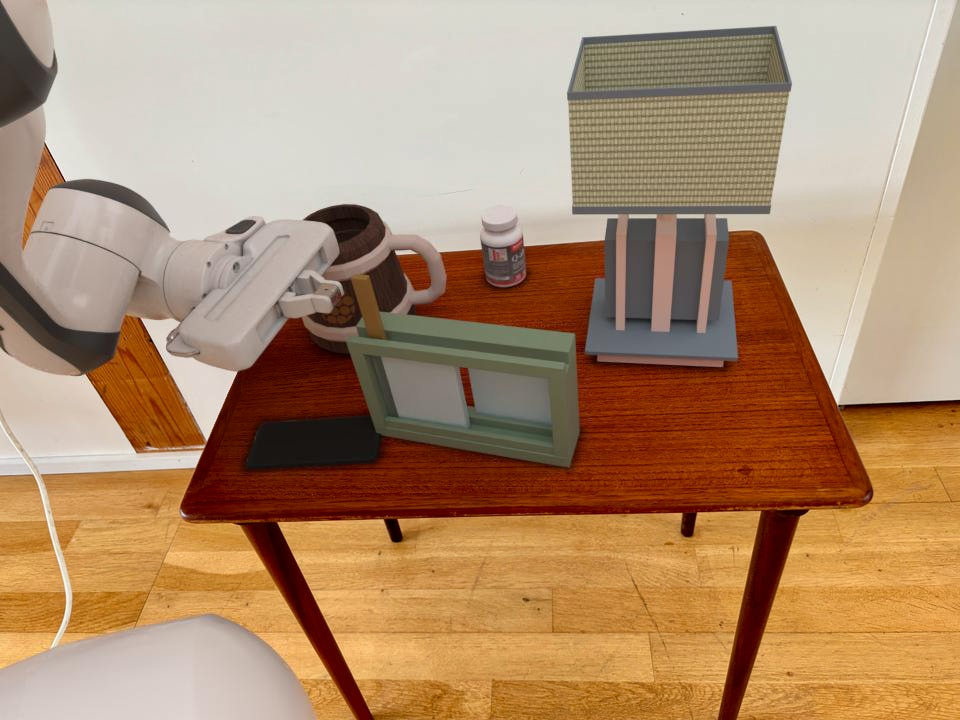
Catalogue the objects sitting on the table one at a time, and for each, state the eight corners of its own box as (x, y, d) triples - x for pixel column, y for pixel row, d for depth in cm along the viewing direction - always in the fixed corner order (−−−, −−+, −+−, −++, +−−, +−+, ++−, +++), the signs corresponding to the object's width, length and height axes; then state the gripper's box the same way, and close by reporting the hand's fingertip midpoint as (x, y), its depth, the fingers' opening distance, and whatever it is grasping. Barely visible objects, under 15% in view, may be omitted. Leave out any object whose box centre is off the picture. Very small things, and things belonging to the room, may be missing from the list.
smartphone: (259, 421, 83) (384, 413, 82) (262, 426, 84) (386, 418, 82) (243, 467, 78) (376, 460, 76) (245, 472, 78) (378, 465, 77)
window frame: (569, 468, 73) (563, 369, 64) (376, 434, 80) (345, 341, 70) (579, 432, 76) (575, 333, 67) (394, 403, 83) (366, 309, 74)
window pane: (467, 432, 76) (438, 287, 63) (390, 419, 79) (347, 278, 66) (470, 425, 77) (442, 281, 64) (394, 413, 79) (352, 272, 67)
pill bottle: (523, 289, 96) (517, 226, 89) (482, 288, 97) (473, 226, 91) (529, 264, 100) (523, 202, 94) (489, 264, 101) (481, 203, 95)
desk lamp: (736, 296, 89) (775, 24, 68) (743, 374, 79) (792, 84, 58) (589, 293, 94) (582, 36, 72) (578, 366, 84) (566, 94, 62)
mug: (294, 360, 91) (255, 264, 81) (324, 289, 102) (292, 196, 92) (446, 356, 88) (425, 255, 78) (460, 283, 99) (443, 186, 89)
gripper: (140, 325, 64) (271, 343, 60) (258, 206, 78) (371, 214, 73) (169, 376, 68) (293, 395, 64) (276, 255, 82) (384, 264, 78)
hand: (336, 297), depth 69 cm, fingers closed
